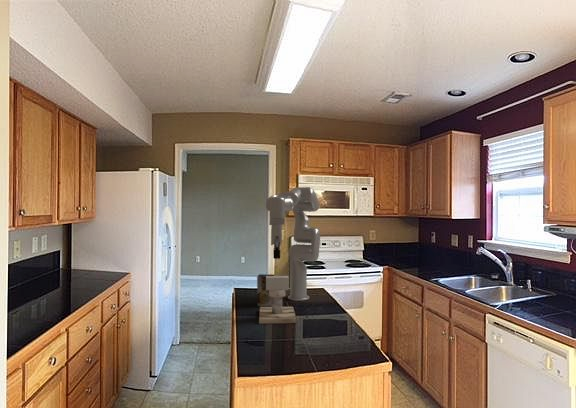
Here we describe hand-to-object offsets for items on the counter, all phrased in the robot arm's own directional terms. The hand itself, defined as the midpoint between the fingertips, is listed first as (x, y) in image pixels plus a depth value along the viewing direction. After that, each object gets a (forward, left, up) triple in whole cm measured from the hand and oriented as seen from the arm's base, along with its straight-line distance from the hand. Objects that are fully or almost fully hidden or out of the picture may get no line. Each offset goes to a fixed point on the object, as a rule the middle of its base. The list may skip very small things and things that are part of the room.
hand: (276, 257), depth 170 cm
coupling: (+1, 0, -18) cm, 19 cm away
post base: (0, 0, -29) cm, 29 cm away
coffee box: (-22, -5, -29) cm, 37 cm away
